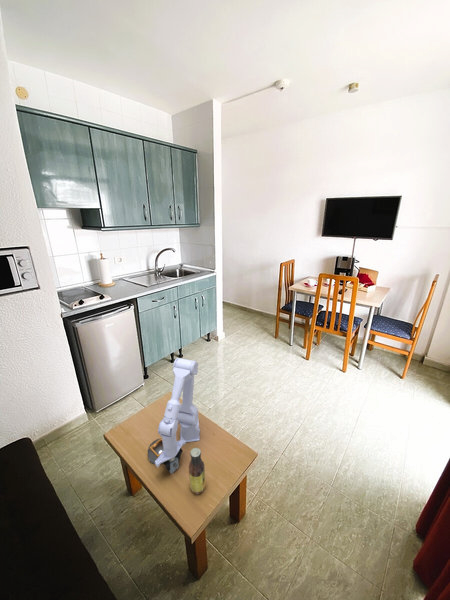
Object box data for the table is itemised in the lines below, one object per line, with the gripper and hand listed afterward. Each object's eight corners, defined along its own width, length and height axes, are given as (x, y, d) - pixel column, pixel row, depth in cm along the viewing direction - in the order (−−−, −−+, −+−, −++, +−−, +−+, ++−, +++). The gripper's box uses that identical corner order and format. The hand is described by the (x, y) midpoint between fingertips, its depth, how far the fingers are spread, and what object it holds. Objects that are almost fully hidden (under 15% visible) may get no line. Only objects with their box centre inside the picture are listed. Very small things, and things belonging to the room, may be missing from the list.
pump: (173, 461, 111) (172, 450, 108) (180, 469, 108) (179, 458, 105) (166, 467, 108) (164, 457, 106) (173, 475, 105) (171, 465, 102)
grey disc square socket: (165, 437, 122) (164, 430, 121) (179, 450, 116) (178, 444, 114) (143, 453, 114) (142, 447, 113) (157, 470, 107) (156, 463, 106)
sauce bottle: (207, 492, 99) (205, 458, 92) (191, 497, 97) (189, 463, 90) (203, 476, 105) (202, 443, 97) (189, 481, 103) (186, 447, 96)
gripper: (177, 427, 110) (179, 448, 115) (149, 449, 100) (152, 471, 105) (187, 436, 106) (189, 458, 111) (159, 460, 96) (162, 483, 101)
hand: (172, 465), depth 108 cm, fingers closed on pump, 4 cm apart
